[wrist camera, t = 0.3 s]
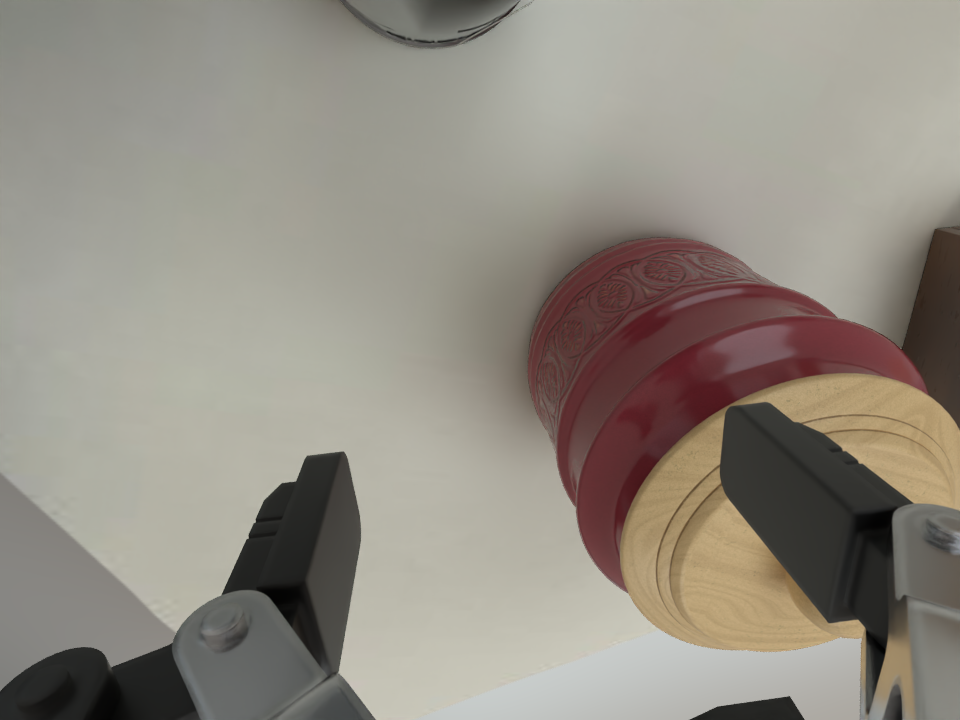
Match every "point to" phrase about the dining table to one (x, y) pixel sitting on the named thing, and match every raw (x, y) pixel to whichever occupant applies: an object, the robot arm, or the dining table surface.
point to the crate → (939, 322)
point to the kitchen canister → (713, 428)
